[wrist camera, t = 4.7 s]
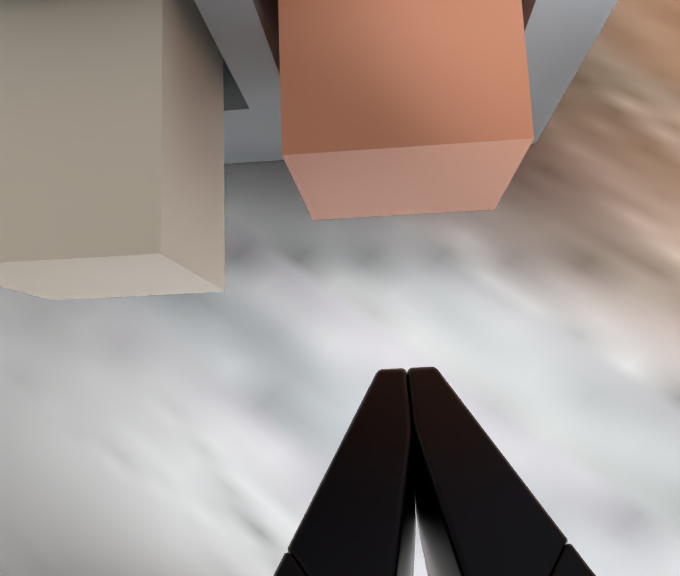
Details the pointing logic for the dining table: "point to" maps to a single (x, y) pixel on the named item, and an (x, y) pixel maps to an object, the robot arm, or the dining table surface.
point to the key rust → (403, 104)
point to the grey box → (264, 64)
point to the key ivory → (110, 149)
